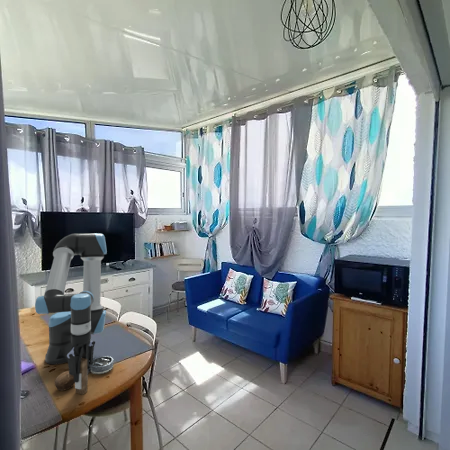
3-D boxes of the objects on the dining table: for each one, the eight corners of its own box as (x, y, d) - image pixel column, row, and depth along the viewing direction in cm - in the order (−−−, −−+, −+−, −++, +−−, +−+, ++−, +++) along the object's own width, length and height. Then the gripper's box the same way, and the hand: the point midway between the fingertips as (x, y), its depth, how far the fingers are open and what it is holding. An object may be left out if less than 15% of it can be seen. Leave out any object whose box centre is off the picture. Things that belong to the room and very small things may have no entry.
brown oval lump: (61, 372, 126) (62, 365, 122) (78, 378, 126) (80, 371, 123) (50, 390, 119) (50, 383, 116) (68, 396, 120) (69, 390, 116)
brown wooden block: (82, 394, 116) (82, 361, 115) (75, 392, 117) (75, 360, 117) (87, 391, 118) (87, 359, 118) (80, 389, 119) (79, 357, 119)
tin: (102, 376, 129) (102, 368, 129) (85, 371, 132) (85, 364, 132) (117, 365, 138) (117, 358, 138) (101, 361, 142) (101, 354, 142)
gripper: (72, 341, 108) (72, 399, 109) (102, 326, 123) (102, 377, 124) (57, 337, 110) (58, 395, 112) (88, 323, 125) (88, 374, 126)
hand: (81, 386), depth 118 cm, fingers closed on brown wooden block, 2 cm apart
